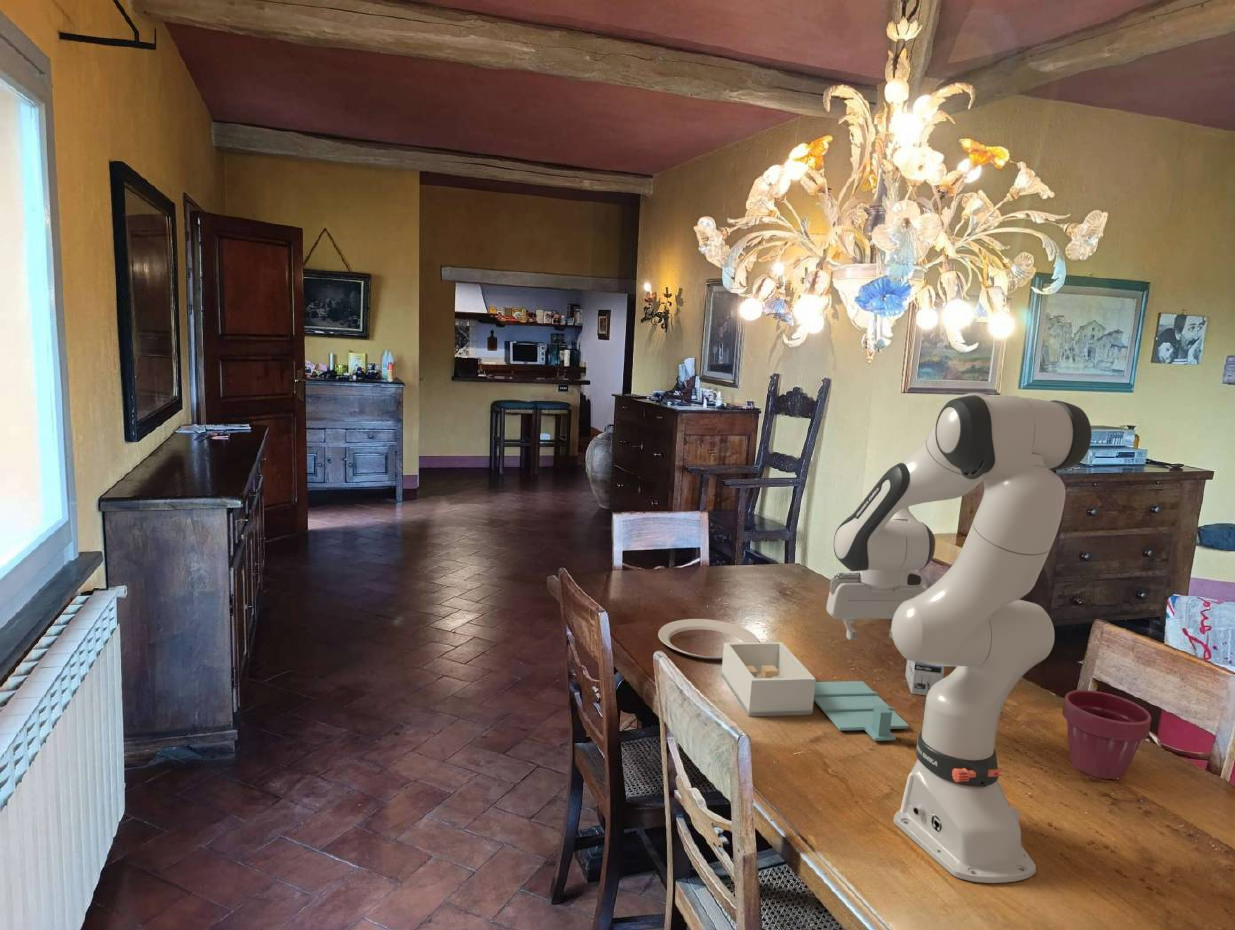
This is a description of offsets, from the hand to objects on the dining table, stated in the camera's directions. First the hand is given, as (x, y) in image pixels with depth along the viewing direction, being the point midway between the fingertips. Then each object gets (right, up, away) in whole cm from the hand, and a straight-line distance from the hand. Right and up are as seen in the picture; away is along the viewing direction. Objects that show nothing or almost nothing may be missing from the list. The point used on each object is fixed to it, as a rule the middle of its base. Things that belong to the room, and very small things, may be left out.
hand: (872, 638), depth 167 cm
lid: (-2, -18, +7) cm, 19 cm away
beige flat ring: (-29, -10, +41) cm, 51 cm away
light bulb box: (+18, -16, +22) cm, 33 cm away
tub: (-20, -15, +13) cm, 28 cm away
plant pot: (+40, -23, -11) cm, 47 cm away
